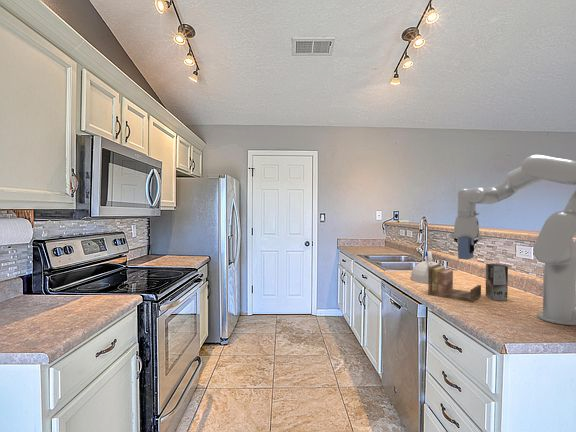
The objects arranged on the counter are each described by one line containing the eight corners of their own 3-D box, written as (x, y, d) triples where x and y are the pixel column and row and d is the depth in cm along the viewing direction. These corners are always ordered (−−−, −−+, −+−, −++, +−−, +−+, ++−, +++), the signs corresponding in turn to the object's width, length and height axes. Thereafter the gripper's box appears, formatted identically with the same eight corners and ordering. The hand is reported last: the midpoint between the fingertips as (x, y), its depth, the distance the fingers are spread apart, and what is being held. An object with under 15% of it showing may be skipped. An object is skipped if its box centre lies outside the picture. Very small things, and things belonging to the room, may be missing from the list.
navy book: (473, 257, 157) (473, 237, 157) (467, 259, 150) (467, 238, 149) (464, 256, 160) (464, 236, 159) (458, 258, 152) (458, 237, 152)
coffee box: (508, 301, 149) (508, 266, 148) (492, 300, 150) (493, 265, 150) (499, 296, 158) (499, 263, 157) (485, 295, 159) (485, 262, 159)
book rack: (480, 296, 156) (481, 268, 156) (473, 302, 146) (473, 272, 146) (437, 289, 170) (438, 264, 170) (428, 294, 160) (428, 267, 160)
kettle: (411, 283, 186) (412, 252, 186) (409, 276, 206) (409, 248, 206) (450, 285, 180) (450, 253, 180) (444, 278, 200) (444, 249, 200)
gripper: (488, 214, 151) (487, 253, 151) (450, 214, 163) (449, 250, 163) (484, 214, 146) (483, 255, 146) (445, 214, 157) (444, 251, 158)
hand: (465, 252), depth 154 cm, fingers closed on navy book, 4 cm apart
